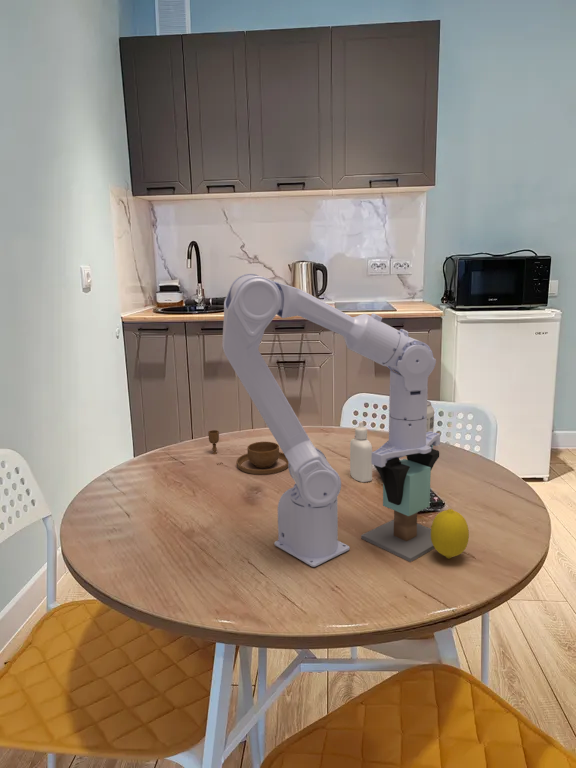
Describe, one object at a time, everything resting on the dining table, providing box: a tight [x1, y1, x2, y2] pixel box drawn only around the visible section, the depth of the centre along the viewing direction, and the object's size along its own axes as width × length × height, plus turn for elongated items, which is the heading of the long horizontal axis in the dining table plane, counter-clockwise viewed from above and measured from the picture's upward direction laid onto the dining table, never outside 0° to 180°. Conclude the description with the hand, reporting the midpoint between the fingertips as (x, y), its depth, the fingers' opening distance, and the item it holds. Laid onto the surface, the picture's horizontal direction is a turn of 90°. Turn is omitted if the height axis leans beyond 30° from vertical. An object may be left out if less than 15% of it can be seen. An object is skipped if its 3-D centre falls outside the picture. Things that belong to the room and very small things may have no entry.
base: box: [360, 518, 435, 563], centre depth 94 cm, size 10×10×1 cm
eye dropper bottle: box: [349, 421, 373, 483], centre depth 118 cm, size 4×6×12 cm
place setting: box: [207, 429, 289, 476], centre depth 131 cm, size 18×20×6 cm
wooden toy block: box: [393, 510, 418, 541], centre depth 93 cm, size 3×3×4 cm
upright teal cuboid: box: [382, 458, 432, 516], centre depth 92 cm, size 5×5×7 cm
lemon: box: [430, 508, 470, 559], centre depth 87 cm, size 6×6×8 cm
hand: (406, 497), depth 92 cm, fingers closed on upright teal cuboid, 5 cm apart
